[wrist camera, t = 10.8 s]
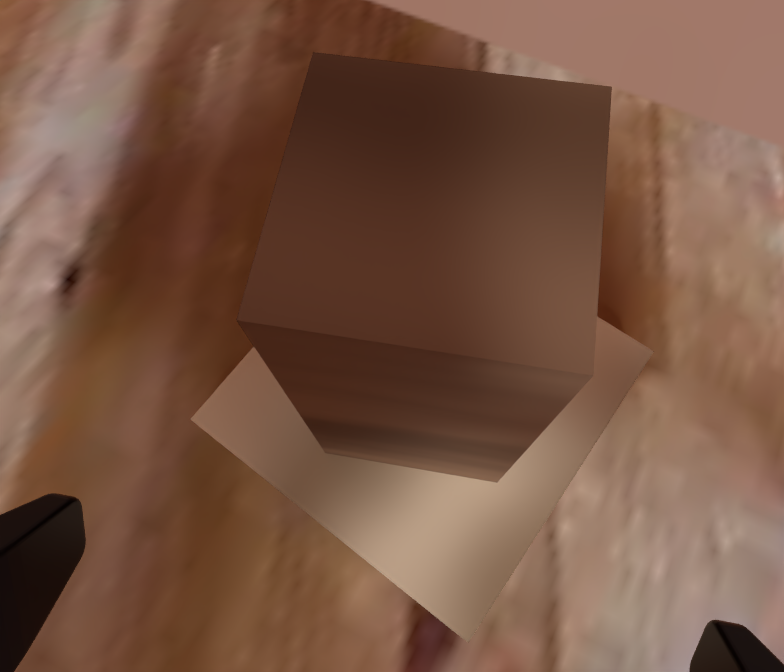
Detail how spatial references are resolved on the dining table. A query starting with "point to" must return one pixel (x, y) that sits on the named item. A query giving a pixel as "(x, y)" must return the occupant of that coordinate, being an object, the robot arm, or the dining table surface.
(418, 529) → the birch plinth
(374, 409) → the walnut pillar
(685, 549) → the dining table surface
